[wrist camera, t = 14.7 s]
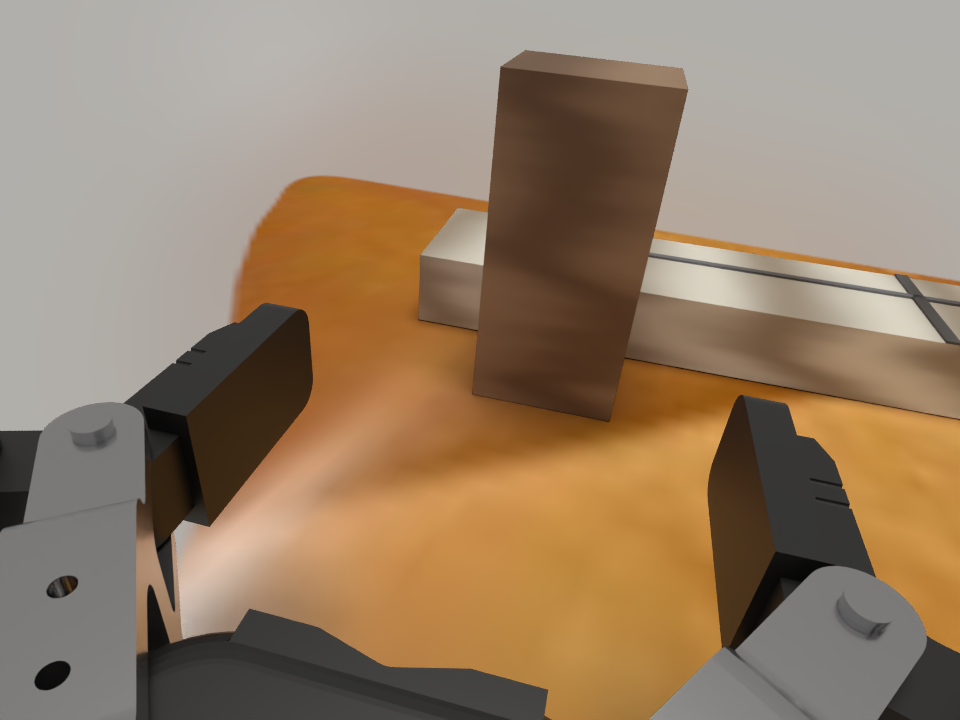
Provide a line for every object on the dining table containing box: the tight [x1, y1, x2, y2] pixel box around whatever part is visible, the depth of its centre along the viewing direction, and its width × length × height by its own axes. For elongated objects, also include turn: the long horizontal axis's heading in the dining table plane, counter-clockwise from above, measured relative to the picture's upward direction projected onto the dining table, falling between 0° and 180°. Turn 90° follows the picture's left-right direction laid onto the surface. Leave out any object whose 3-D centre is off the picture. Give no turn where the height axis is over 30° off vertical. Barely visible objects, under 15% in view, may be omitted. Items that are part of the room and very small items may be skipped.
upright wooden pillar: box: [472, 50, 688, 422], centre depth 24 cm, size 5×9×11 cm, turn 167°
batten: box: [419, 208, 960, 419], centre depth 27 cm, size 30×6×3 cm, turn 77°
